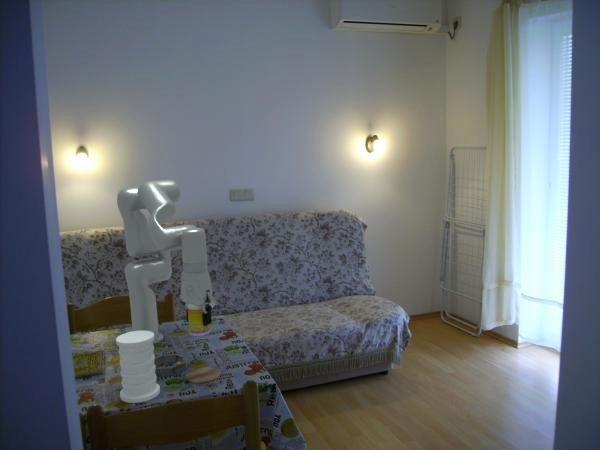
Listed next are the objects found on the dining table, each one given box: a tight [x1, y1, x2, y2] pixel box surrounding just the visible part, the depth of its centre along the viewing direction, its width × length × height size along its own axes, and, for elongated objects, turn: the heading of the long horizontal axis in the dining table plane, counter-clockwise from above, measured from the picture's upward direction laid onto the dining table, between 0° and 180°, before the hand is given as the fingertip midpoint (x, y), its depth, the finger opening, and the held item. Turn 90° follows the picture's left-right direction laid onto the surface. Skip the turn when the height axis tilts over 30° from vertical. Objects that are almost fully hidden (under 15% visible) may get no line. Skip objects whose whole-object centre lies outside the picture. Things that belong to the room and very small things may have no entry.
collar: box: [154, 353, 188, 377], centre depth 180 cm, size 12×12×3 cm
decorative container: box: [115, 331, 161, 404], centre depth 160 cm, size 12×12×18 cm
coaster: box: [185, 366, 221, 384], centre depth 173 cm, size 11×11×1 cm
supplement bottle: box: [188, 303, 211, 337], centre depth 170 cm, size 7×7×13 cm
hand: (199, 322), depth 170 cm, fingers closed on supplement bottle, 6 cm apart
